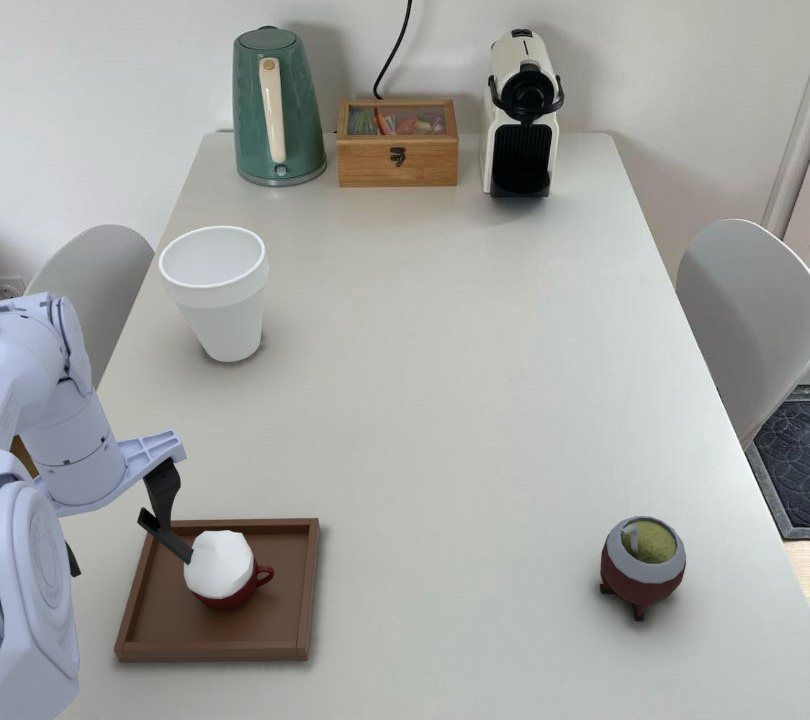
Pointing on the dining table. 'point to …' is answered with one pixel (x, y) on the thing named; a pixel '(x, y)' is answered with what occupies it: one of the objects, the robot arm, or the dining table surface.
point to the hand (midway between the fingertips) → (120, 545)
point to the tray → (232, 629)
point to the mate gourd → (642, 562)
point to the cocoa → (213, 564)
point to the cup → (219, 287)
